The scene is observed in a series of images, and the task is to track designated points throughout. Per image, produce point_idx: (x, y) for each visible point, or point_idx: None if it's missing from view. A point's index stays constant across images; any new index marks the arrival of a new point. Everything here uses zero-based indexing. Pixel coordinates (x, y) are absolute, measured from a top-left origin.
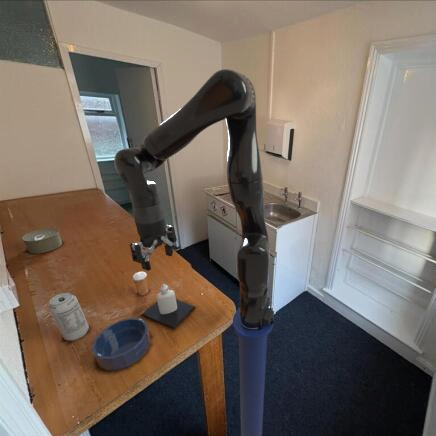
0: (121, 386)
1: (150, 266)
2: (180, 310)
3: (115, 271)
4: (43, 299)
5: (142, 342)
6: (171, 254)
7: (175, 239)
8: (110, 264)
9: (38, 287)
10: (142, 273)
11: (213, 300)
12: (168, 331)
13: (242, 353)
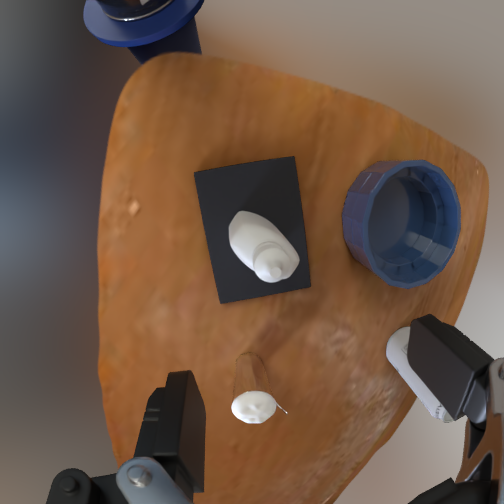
0: (434, 142)
1: (434, 331)
2: (234, 197)
3: (244, 456)
4: (360, 449)
5: (400, 161)
6: (180, 379)
7: (63, 492)
8: (237, 474)
9: (343, 473)
10: (245, 410)
11: (133, 147)
12: (307, 164)
13: (196, 37)
